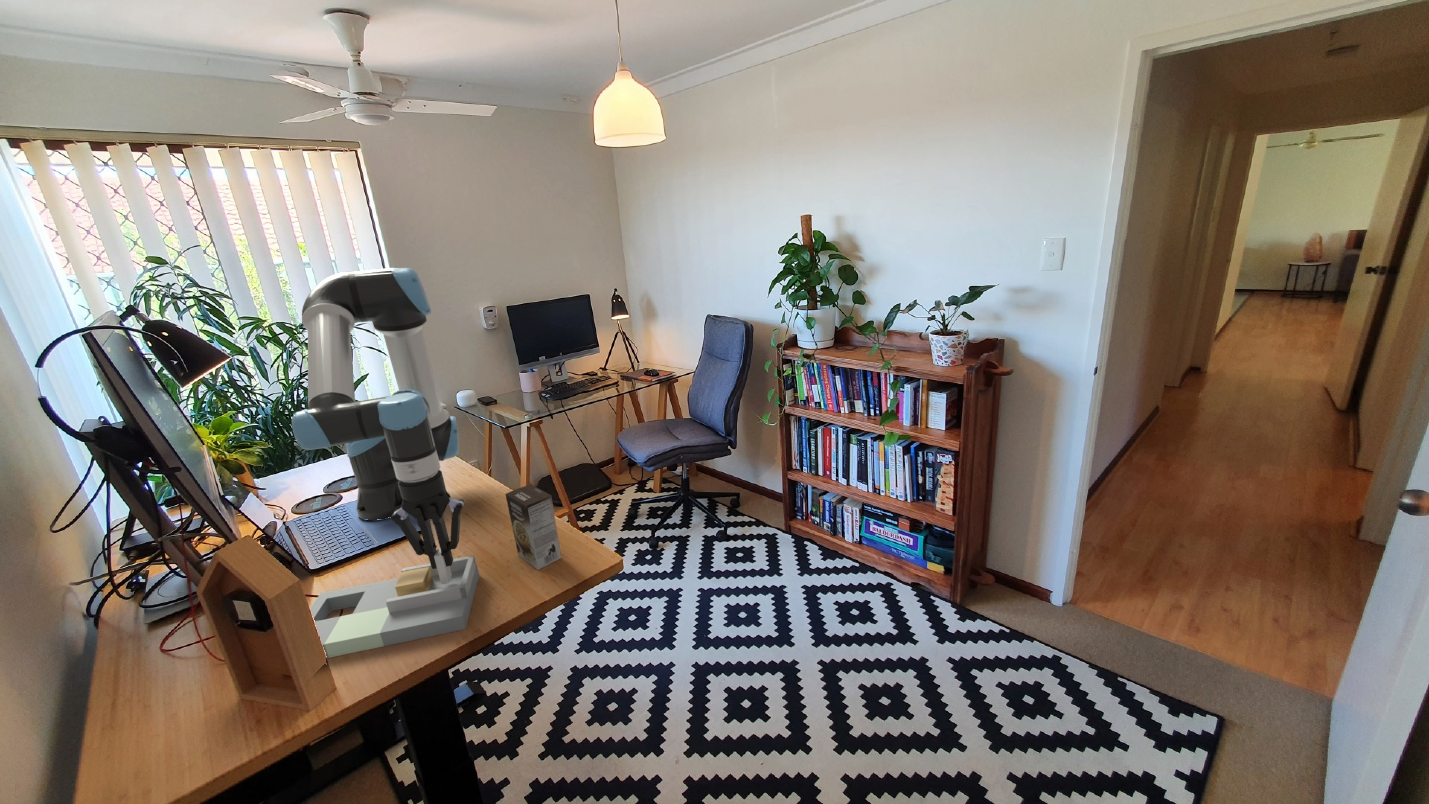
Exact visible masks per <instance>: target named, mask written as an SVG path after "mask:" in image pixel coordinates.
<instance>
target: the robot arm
mask: <svg viewBox="0 0 1429 804" xmlns="http://www.w3.org/2000/svg"><path fill="white" fill-rule="evenodd" d="M302 305H303V306H302V310H301V322H302V326H303V327H304V328H305V330H306V331H307V407H308V408H305V409H303V410H299V411H296V412H294V414H293V415H292V416H291V417H292V418H291V427H292V428H291V429H292V432H293V436H294V438H295V440H296V443H297V444H298V446H299V447H300V448H301V449H303V450H306V451H310V450H318V449H326V448H331V447H334V446H335V447H336V446H339V445H344V444H345V447H346V448H345V449H346V452H347V454H346V455H347V457H348V459H349V462H350V466H351V468H352V472H353V475H354V476H353V477H354V479H355V482H356V484H357V485H356V486H357V489H358V490H357V501H356V512H357V513H356V514H357V516H358V517H360V518H362V519H368V520H377V519H384V520H386V519H385V518H388V517H391V518H390V520H391V521H392V522H394V523H395V525H398V527H399V528H400V529H401V531H402V533H403V534H404V536H405V538H406V540H407V541H408V542H409V544H410V546H411V547H412V549H413V551H414V552H415V554H416V555H417V556H422V555H425V556H427V557H428V560H429V563H430V564H431V567H432V569H437V570H438V574H439V577H440V581H441V584H445V583H449V582H450V579H451V576H452V573H451V569H450V566H451V565H452V562H453V559H454V556H453V553H452V550H456V549H457V547H458V545H459V543H460V542H459V541H460V532H461V531H460V530H461V516H462V515H461V511H462V509H463V508H464V507H463V506H464V504H465V500H464V499H463V498H459V499H455V498H452V496H451V495H450V493H449V492H448V491H447V487H446V483H445V480H444V475H443V471H441V470H440V469H441V462H444V461H446V460H448V459H453V458H455V457H457V456H458V454H459V450H460V444H459V442H460V441H459V431H458V424H457V418H456V416H454V415H450V412H449V411H448V410H447V409H445V408H443V407H442V404H441V401H440V396H439V393H438V389H437V385H436V380H435V376H434V373H433V368H432V364H431V361H430V356H429V352H428V349H427V344H426V339H425V336H424V331H423V327H424V326H425V325H426V324H427V323H428V322H427V320H428V319H427V316H429V315H431V313H432V309H431V306H430V303H429V300H428V297H427V294H426V292H425V289H424V286H423V284H422V281H421V279H420V277H419V274H418V273H417V271H416V270H415V269H413V268H410V267H396V268H395V267H387V268H379V269H378V268H376V269H368V270H357V271H342V272H338V273H334V274H332V275H330V276H328V277H326V278H325V279H323V280H321V281H320V282H319V283H318V284H317V285H316V286H315V287H314V288H313V289H312V290H311V291H310V293H308V295H307V297H306V299H305V300H304V303H303V304H302ZM365 322H372V326H373V328H374V330H375V331H378V332H379V333H381V334H383V339H384V341H385V345H386V348H387V352H388V356H389V358H390V359H389V360H390V363H391V366H392V370H393V374H394V377H395V380H396V385H397V389H398V390H397V391H395V392H394V393H393V394H391V395H388V396H382V397H376V398H371V399H365V400H357V401H356V395H355V382H354V381H355V380H354V367H353V366H354V365H353V355H352V354H353V351H352V338H351V332H352V331H353V330H354V328H355V325H356V324H357V323H365ZM448 506H449V510H450V511H451V512H452V514H451V524H450V538H449V533H448V529H447V526H446V521H445V518H444V517H445V516H444V513H445V511H446V509H447V507H448ZM409 516H411V517H413V518H414V519H415V520H416V522H417V525H418V527H419V529H420V532H419V531H418V530H417V528H416V527H415V525H414V523H413V521H412V520H411V518H410V517H409ZM360 518H359V519H360ZM362 519H361V520H362ZM430 520H431V521H430ZM431 522H432V524H433V526H434V529H435V532H436V536H437V537H436V538H437V540H438V544H436V538H435V535H434V532H433V531H434V530H433V528H432V524H431ZM420 533H421V535H420ZM438 545H439V548H437V547H438Z"/></svg>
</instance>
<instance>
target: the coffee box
mask: <svg viewBox="0 0 1429 804" xmlns="http://www.w3.org/2000/svg"><path fill="white" fill-rule="evenodd" d="M504 496H505V498H506V503H507V509H508V512H509V517H510V523H511V527H512V532H513V537H514V542H515V546H516V547H515V548H516V551H517V556H518V557H520V558H521V559H522V560H523V561H525V562H526V563H528V564H529V565H530V566H531V567H533V568H535V569H536V570H537V571H538V570H541V569H543V568H545V567H546V566H548V565H550V564H552V563H555V562H556V561H559V560H560V559H561V558H562V554H561V546H560V540H559V534H558V528H557V521H556V516H555V510H554V504H553V499H552V495H551V494H549V492H546V491H545V490H543V489H540V488H539V487H537V486H535V485H533V484H531V483H530V484H527V485H525V486H522V487H519V488H516V489H513V490H512V491H509V492H506V493H504Z"/></svg>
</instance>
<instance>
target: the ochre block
mask: <svg viewBox="0 0 1429 804" xmlns="http://www.w3.org/2000/svg"><path fill="white" fill-rule="evenodd" d="M432 583H433V579H432V576H431V572H430V568H429V567H426V568H421V569H415V570H410V571H404V572H401V573H400V576H399V580H398V582H397V584H396V586H395V588H396V592H397V595H398V597H400V596H405V595H410V594H415V593H421V592H426V591H429V590H430V588H431V585H432Z"/></svg>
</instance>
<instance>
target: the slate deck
mask: <svg viewBox="0 0 1429 804" xmlns="http://www.w3.org/2000/svg"><path fill="white" fill-rule="evenodd" d="M426 567H429V568H430V572H431V576H432V579H433V583H432V585H431V588H430V590H429V591H426V592H421V593H415V594H410V595H405V596H400V597H398V595H397V592H396V588H395V586H396V584H397V582H398V580H399V578H400V577H399V578H394V579H393V578H392V579H388V580H381V581H378V582H371V583H366V584H361V585H357V586H349V587H345V588H340V589H336V590H330V591H322V592H320V593H319V595H318V596H317V598H315V601H314V602H313V604H312V605H311V607H310V608H311V612H312V616H313V618H314V620H315V625H316V628H317V630H318V634H319V636H320V638H321V643H322V645H323V647H324V650H325V652H326V656H327V658H326V659H328V658H333V657H339V656H344V655H348V654H353V653H358V652H363V651H368V650H373V649H377V648H382V647H387V646H392V645H397V644H401V643H406V642H410V641H416V640H420V639H425V638H430V637H435V636H438V635H439V636H440V635H445V634H448V633H454V632H459V631H464V630H466V628H467V625H468V621H469V618H470V613H471V610H472V606H473V603H474V602H473V601H474V598H475V594H476V590H477V587H478V583H479V579H480V573H479V568H478V567H479V566H478V564H477V562H476V557H475V554H474V555H469V556H464V557H458V558H453V562H452V565H451V566H450V569H451V573H452V576H451V579H450V582H449V583H445V584H441V581H440V577H439V574H438V570H437V569H432V567H431V564H430V562H429V563H423V564H418V565H414V566H410V567H409V566H408V567H403V568H402V569H401V571H400V572H401V573H402V572H404V571H410V570H415V569H421V568H426ZM353 607H355V608H354V610H353V612H352V613H351V614H346V615H341V616H335V617H332V618H328V616H329V615H330V613H331V612H332V611H338V610H342V609H347V608H353Z"/></svg>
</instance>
